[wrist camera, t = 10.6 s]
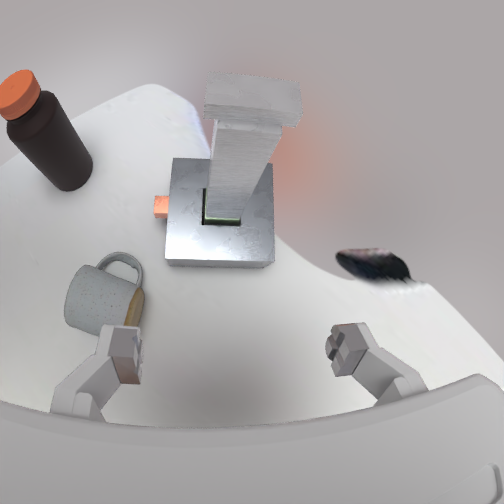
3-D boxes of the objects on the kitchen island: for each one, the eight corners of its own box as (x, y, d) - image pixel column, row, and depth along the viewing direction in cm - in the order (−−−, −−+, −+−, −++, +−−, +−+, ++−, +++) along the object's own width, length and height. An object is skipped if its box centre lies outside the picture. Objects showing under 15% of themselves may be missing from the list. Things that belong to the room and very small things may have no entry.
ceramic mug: (136, 344, 35) (122, 351, 28) (80, 323, 34) (55, 325, 27) (157, 264, 38) (149, 252, 30) (101, 247, 37) (82, 232, 29)
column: (197, 225, 35) (203, 113, 14) (199, 194, 35) (208, 64, 15) (242, 226, 36) (303, 123, 15) (242, 197, 36) (298, 74, 15)
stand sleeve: (157, 265, 38) (150, 257, 32) (164, 177, 40) (159, 156, 34) (263, 268, 40) (275, 261, 34) (262, 182, 42) (272, 163, 36)
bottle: (88, 192, 37) (24, 112, 18) (48, 192, 36) (-24, 121, 17) (97, 149, 39) (52, 57, 19) (59, 150, 38) (2, 68, 18)
